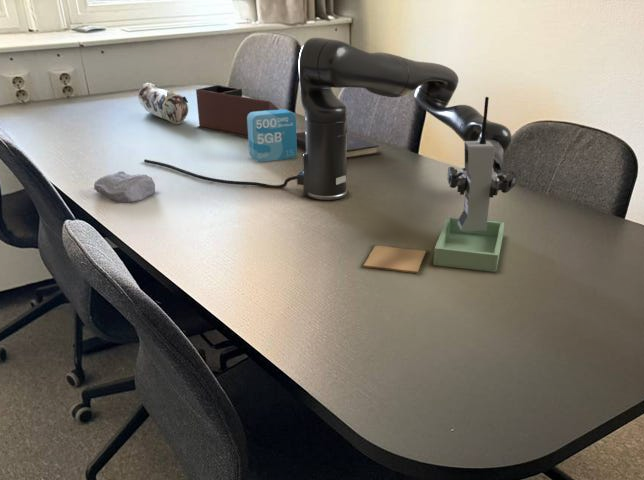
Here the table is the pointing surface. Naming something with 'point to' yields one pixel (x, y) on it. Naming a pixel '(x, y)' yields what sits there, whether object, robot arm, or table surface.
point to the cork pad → (395, 259)
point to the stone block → (125, 186)
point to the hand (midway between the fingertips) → (476, 190)
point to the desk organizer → (227, 109)
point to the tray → (469, 246)
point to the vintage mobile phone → (477, 181)
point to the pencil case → (163, 103)
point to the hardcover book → (354, 146)
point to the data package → (272, 135)
